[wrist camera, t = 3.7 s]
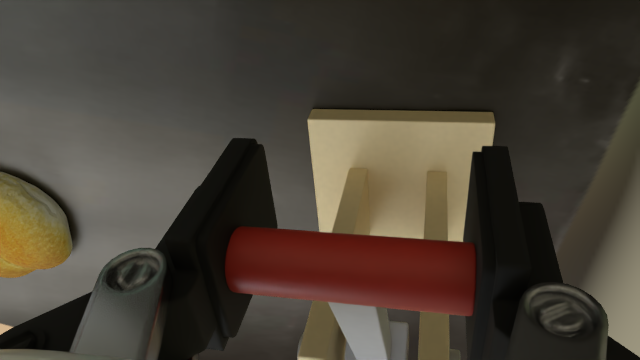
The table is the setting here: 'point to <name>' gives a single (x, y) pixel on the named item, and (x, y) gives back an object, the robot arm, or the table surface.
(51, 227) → the bread roll
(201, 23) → the table surface
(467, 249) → the lever
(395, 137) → the bracket
